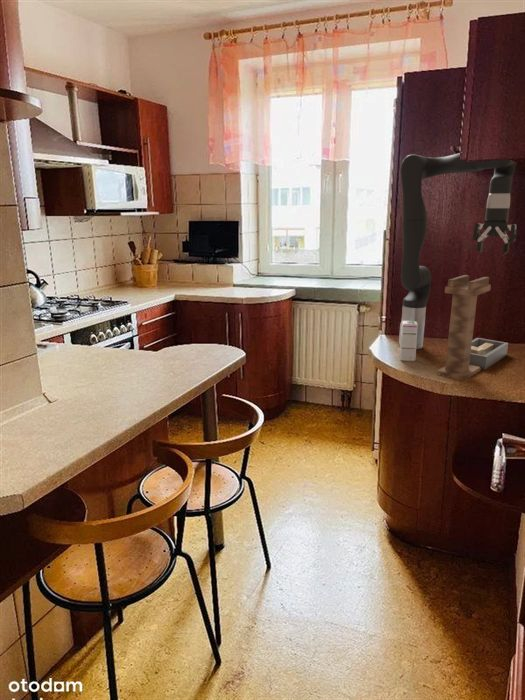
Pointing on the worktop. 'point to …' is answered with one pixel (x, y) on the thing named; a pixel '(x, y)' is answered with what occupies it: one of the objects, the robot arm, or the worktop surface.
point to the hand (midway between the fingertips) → (492, 253)
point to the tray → (491, 357)
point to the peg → (482, 349)
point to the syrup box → (408, 340)
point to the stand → (462, 325)
